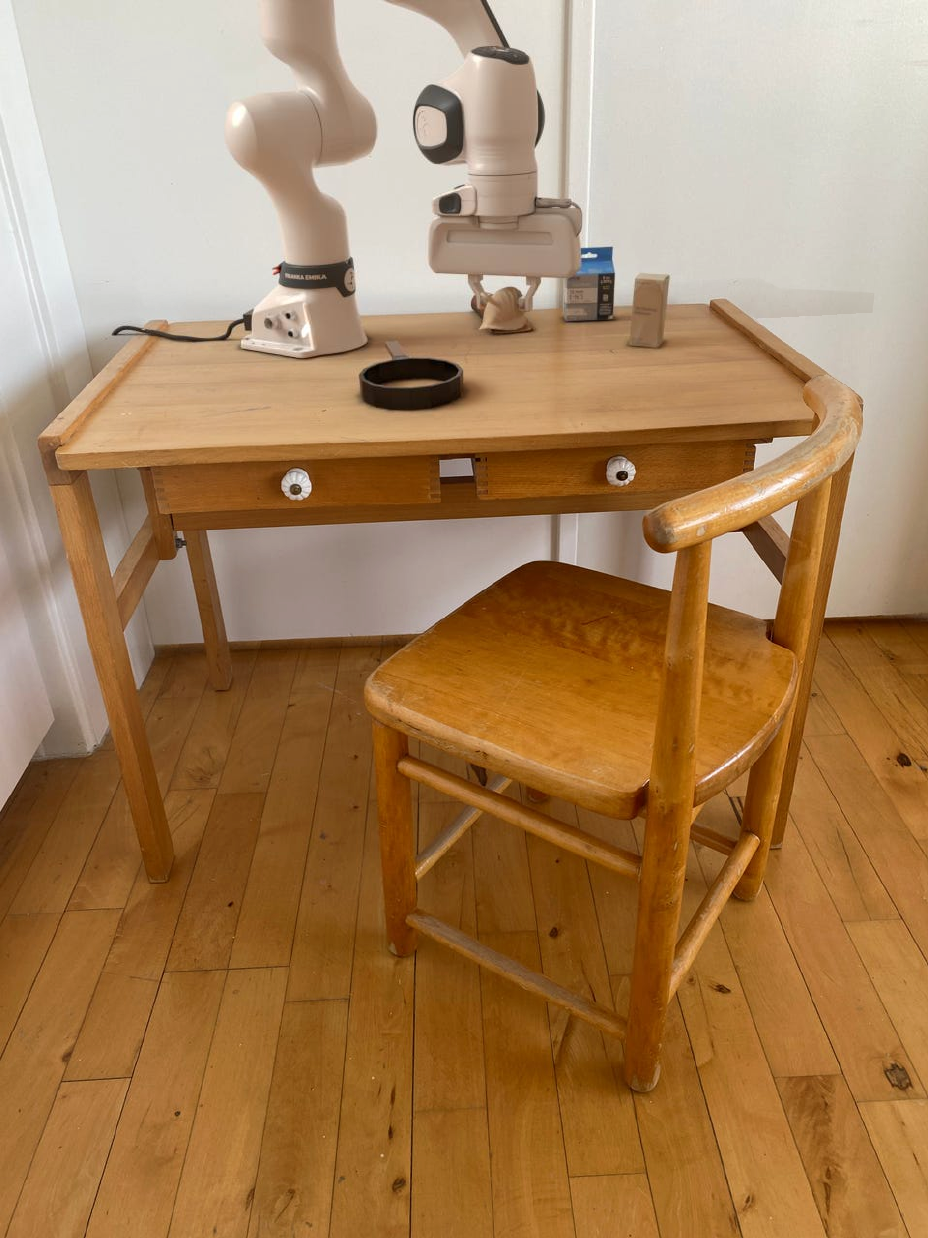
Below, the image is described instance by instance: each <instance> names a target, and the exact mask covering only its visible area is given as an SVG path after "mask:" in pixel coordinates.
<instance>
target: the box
mask: <svg viewBox="0 0 928 1238" xmlns="http://www.w3.org/2000/svg"><path fill="white" fill-rule="evenodd" d="M670 278H671V275H670V274H666V273H665V274H662V273H644V272H640V273H639V274H638V275H637V276H636V277H634V285H633V296H632V309H631V322H630V332H629V341H628V342H629V344H628V345H629V346H634V347H644V348H653V349H654V348H655V349H658V348H659V347H660V346H661V345H662V344H663V342H664V336H665V326H666V315H667V306H668V296H669V285H670Z"/></svg>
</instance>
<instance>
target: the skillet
mask: <svg viewBox="0 0 928 1238" xmlns="http://www.w3.org/2000/svg"><path fill="white" fill-rule="evenodd" d="M384 347H385V349H386V352H387V353H388V354H389V356H390V357H391V359H389V360H384V361H379V362H376V363H372V364H371V365H368V366H366V367H365V368H363V369H362V370H361V372H360V373H359V374H358V379H359V389H360V390H359V391H360V397H361V398H362V401H363V402H364V403H365V404H367V405H370V406H372V407H374V408H379V409H385V410H390V411H417V410H418V411H419V410H427V409H432V408H437V407H442V406H445V405H450V404H452V403H453V402H455V401H457V400H458V399H460V398H461V397H462V395H463V394H464V391H465V387H464V386H465V385H464V369H463V368H462V367H461V365H460V364H459V363H456V362H453V361H452V360H448V359H443V358H435V357H410V356H409V355H407V354H406V352H405V351H404V350H403V348H402V347H401V345H400V344H399V341H397V340H391V341H384ZM404 380H405V381H406V380H434V381H435V380H436V381H440V382H437V383H433V384H428V385H427V384H426V385H419V386H411V387H410V386H388V385H383V384H387V383H391V382H394V381H404Z"/></svg>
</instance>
